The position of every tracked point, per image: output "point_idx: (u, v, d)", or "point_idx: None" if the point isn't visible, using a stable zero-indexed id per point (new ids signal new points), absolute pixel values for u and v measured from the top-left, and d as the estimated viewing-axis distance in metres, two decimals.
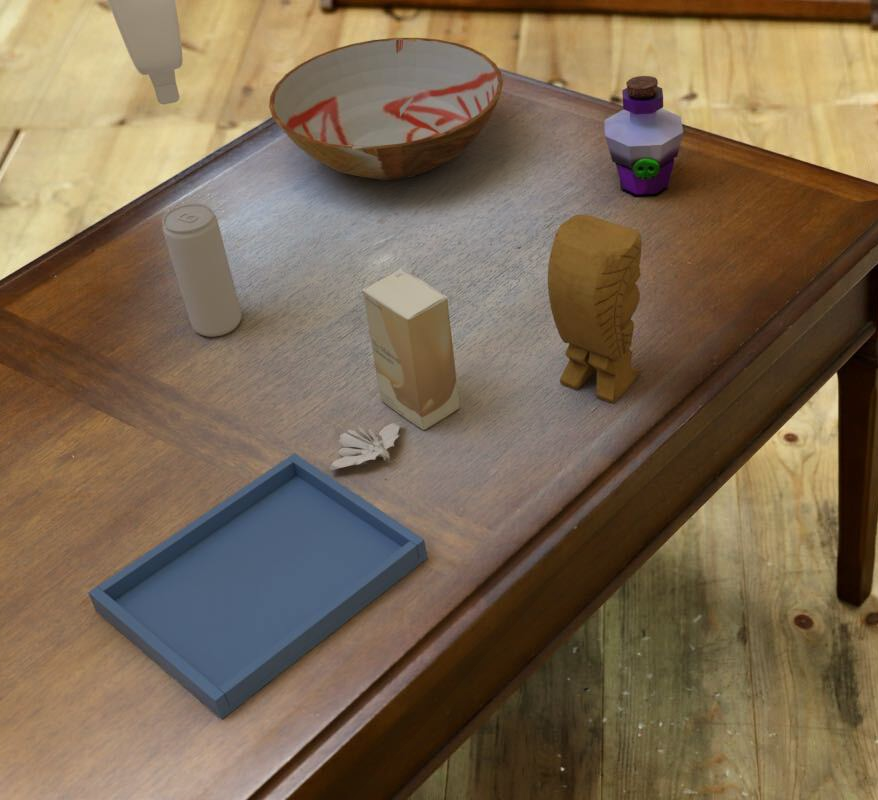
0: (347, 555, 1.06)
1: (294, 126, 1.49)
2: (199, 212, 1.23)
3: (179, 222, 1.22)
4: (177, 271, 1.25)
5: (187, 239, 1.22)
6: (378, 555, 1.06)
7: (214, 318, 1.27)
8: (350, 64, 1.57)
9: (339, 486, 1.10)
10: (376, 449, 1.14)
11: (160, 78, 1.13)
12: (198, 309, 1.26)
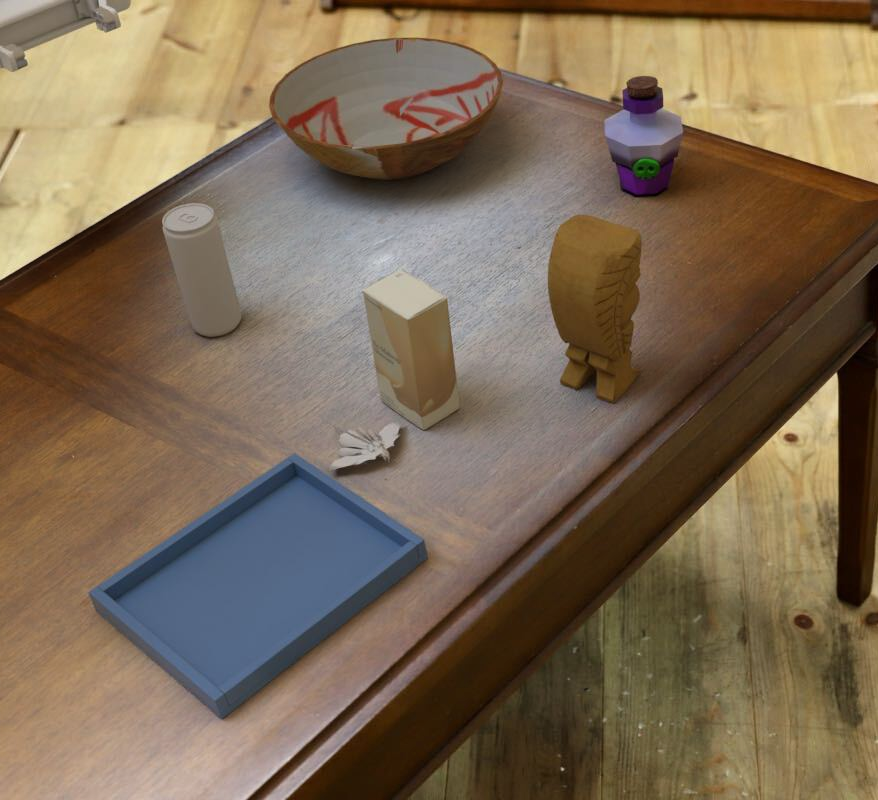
0: (347, 555, 1.06)
1: (294, 126, 1.49)
2: (199, 212, 1.23)
3: (179, 222, 1.22)
4: (177, 271, 1.25)
5: (187, 239, 1.22)
6: (378, 555, 1.06)
7: (214, 318, 1.27)
8: (350, 64, 1.57)
9: (339, 486, 1.10)
10: (376, 449, 1.14)
11: None
12: (198, 309, 1.26)
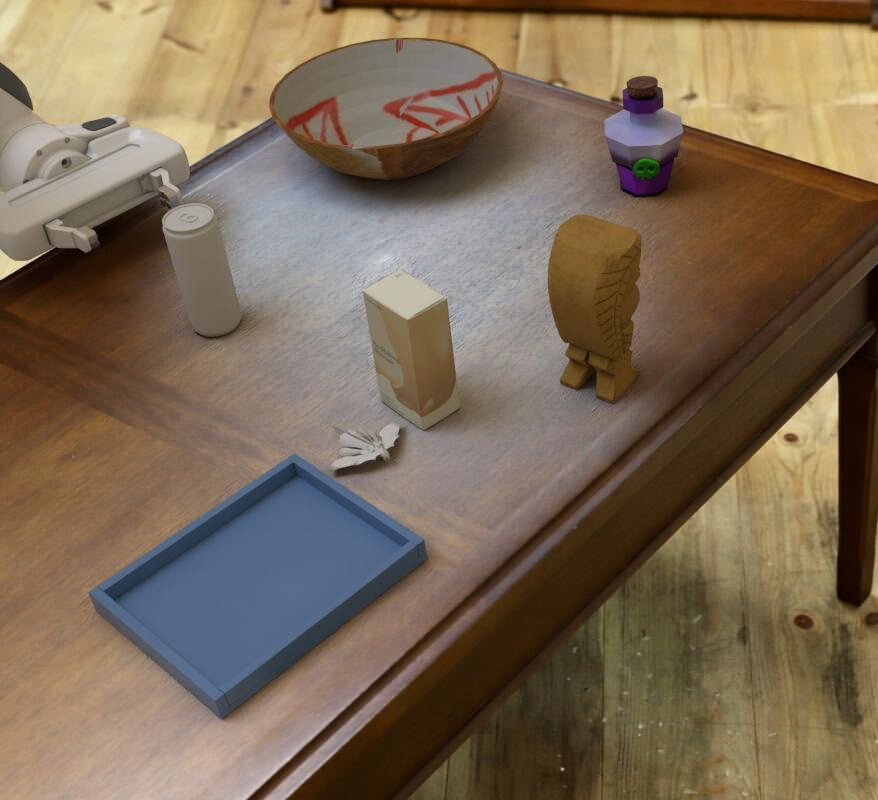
0: (347, 555, 1.06)
1: (294, 126, 1.49)
2: (199, 212, 1.23)
3: (179, 222, 1.22)
4: (177, 271, 1.25)
5: (187, 239, 1.22)
6: (378, 555, 1.06)
7: (214, 318, 1.27)
8: (350, 64, 1.57)
9: (339, 486, 1.10)
10: (376, 449, 1.14)
11: (170, 183, 1.36)
12: (198, 309, 1.26)
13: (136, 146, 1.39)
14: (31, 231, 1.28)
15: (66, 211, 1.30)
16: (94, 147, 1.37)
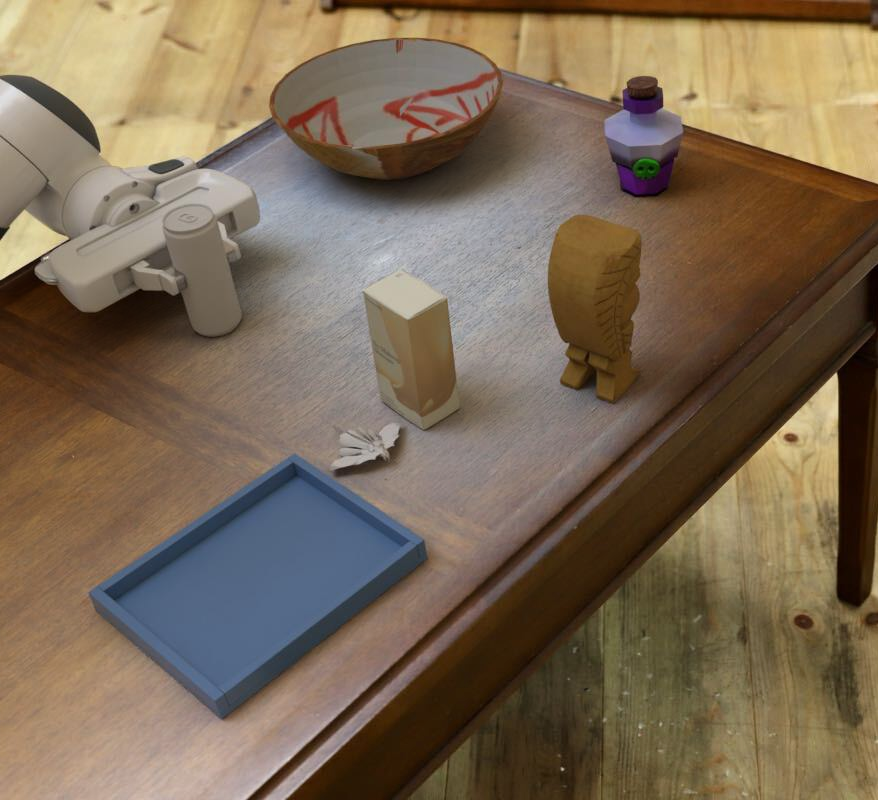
0: (347, 555, 1.06)
1: (294, 126, 1.49)
2: (199, 212, 1.23)
3: (179, 222, 1.22)
4: None
5: (186, 239, 1.21)
6: (378, 555, 1.06)
7: (214, 318, 1.27)
8: (350, 64, 1.57)
9: (339, 486, 1.10)
10: (376, 449, 1.14)
11: None
12: (198, 309, 1.26)
13: (205, 189, 1.34)
14: (101, 282, 1.23)
15: (136, 260, 1.25)
16: (162, 191, 1.32)
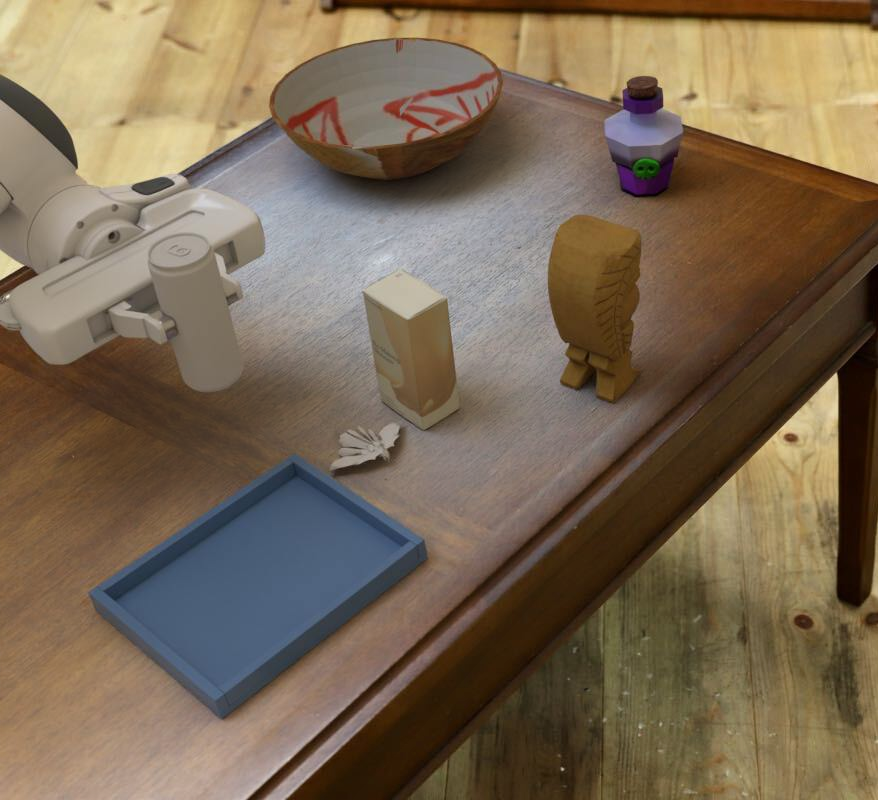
0: (347, 555, 1.06)
1: (294, 126, 1.49)
2: (192, 244, 1.01)
3: (168, 256, 1.00)
4: None
5: (177, 276, 0.99)
6: (378, 555, 1.06)
7: (210, 371, 1.05)
8: (350, 64, 1.57)
9: (339, 486, 1.10)
10: (376, 449, 1.14)
11: None
12: (191, 360, 1.04)
13: (199, 214, 1.11)
14: (72, 328, 1.01)
15: (116, 301, 1.03)
16: (148, 216, 1.10)
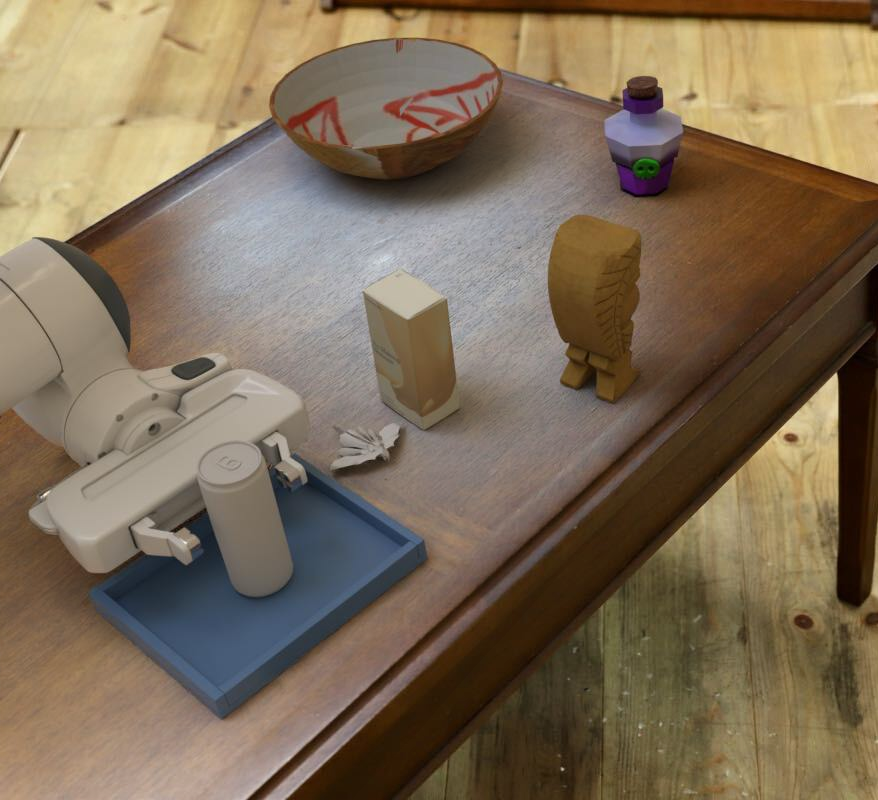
0: (347, 555, 1.06)
1: (294, 126, 1.49)
2: (243, 455, 0.97)
3: (219, 470, 0.96)
4: (215, 526, 0.99)
5: (228, 493, 0.96)
6: (378, 555, 1.06)
7: (260, 578, 1.01)
8: (350, 64, 1.57)
9: (339, 486, 1.10)
10: (376, 449, 1.14)
11: None
12: (241, 568, 1.00)
13: (242, 398, 1.07)
14: (113, 537, 0.97)
15: (158, 505, 0.99)
16: (189, 403, 1.05)
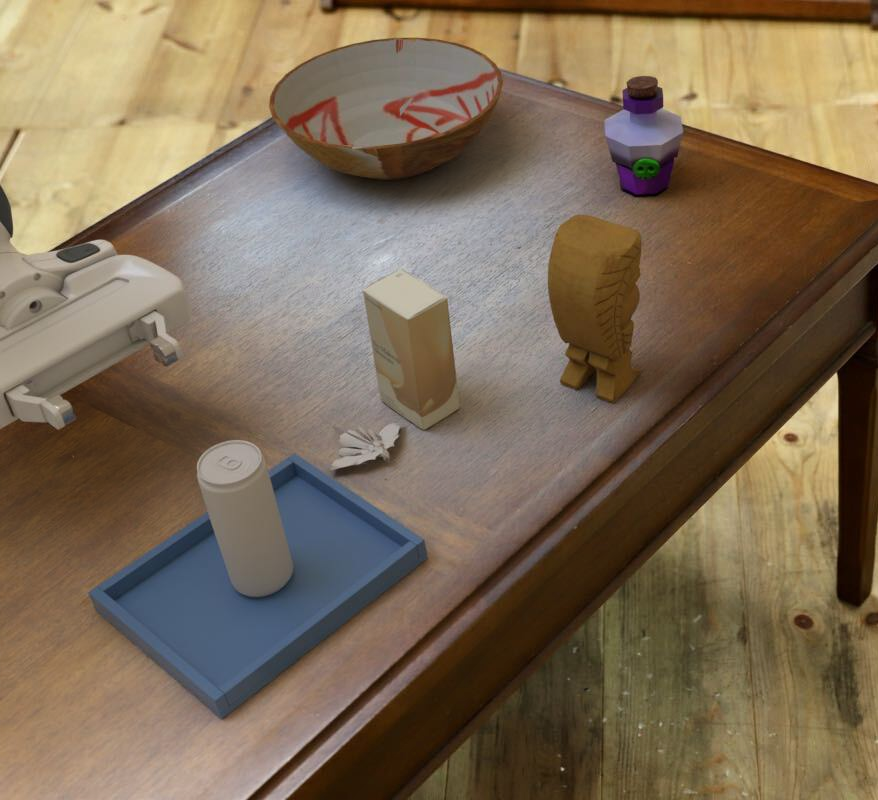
0: (347, 555, 1.06)
1: (294, 126, 1.49)
2: (243, 454, 0.97)
3: (219, 470, 0.96)
4: (215, 526, 0.99)
5: (228, 493, 0.96)
6: (378, 555, 1.06)
7: (260, 578, 1.01)
8: (350, 64, 1.57)
9: (339, 486, 1.10)
10: (376, 449, 1.14)
11: (167, 331, 1.08)
12: (241, 568, 1.00)
13: (124, 281, 1.11)
14: None
15: (34, 374, 1.02)
16: (71, 284, 1.09)
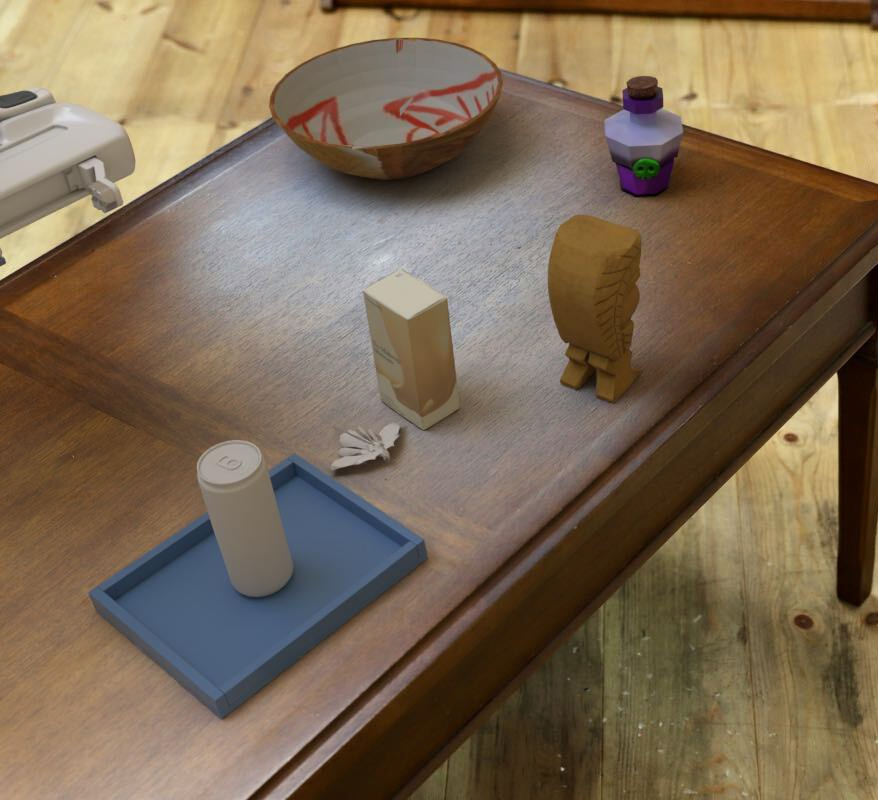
0: (347, 555, 1.06)
1: (294, 126, 1.49)
2: (243, 454, 0.97)
3: (219, 470, 0.96)
4: (215, 526, 0.99)
5: (228, 493, 0.96)
6: (378, 555, 1.06)
7: (260, 578, 1.01)
8: (350, 64, 1.57)
9: (339, 486, 1.10)
10: (376, 449, 1.14)
11: (107, 178, 1.01)
12: (241, 568, 1.00)
13: (63, 129, 1.04)
14: None
15: None
16: (5, 130, 1.02)
